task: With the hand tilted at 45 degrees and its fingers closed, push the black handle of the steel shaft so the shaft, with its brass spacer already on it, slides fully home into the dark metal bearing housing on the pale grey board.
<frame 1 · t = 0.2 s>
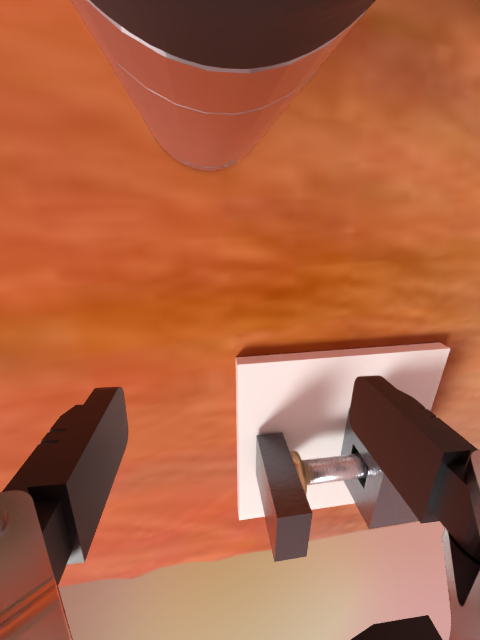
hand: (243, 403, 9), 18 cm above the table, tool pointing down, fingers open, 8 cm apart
shaft: (357, 478, 29), point 7 cm above the table, slide at 0.0 cm
bearing housing: (366, 428, 35), resting on base board
base board: (330, 432, 35), on the table
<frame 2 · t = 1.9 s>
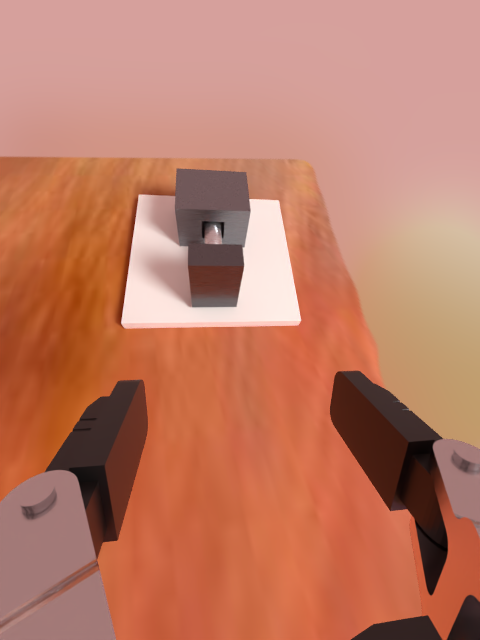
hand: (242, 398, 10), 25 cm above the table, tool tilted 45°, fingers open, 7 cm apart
shaft: (213, 227, 37), point 7 cm above the table, slide at 0.0 cm
bearing housing: (211, 234, 45), resting on base board
base board: (212, 258, 43), on the table
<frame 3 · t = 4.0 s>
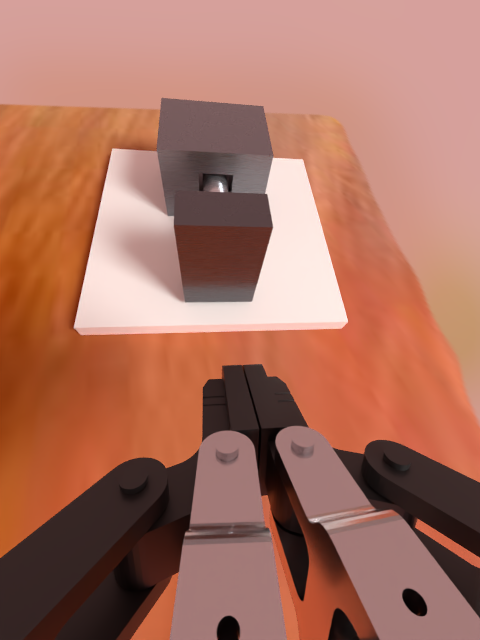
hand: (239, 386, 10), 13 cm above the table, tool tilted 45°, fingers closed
shaft: (216, 182, 25), point 7 cm above the table, slide at 0.0 cm
bearing housing: (213, 202, 33), resting on base board
base board: (214, 234, 31), on the table
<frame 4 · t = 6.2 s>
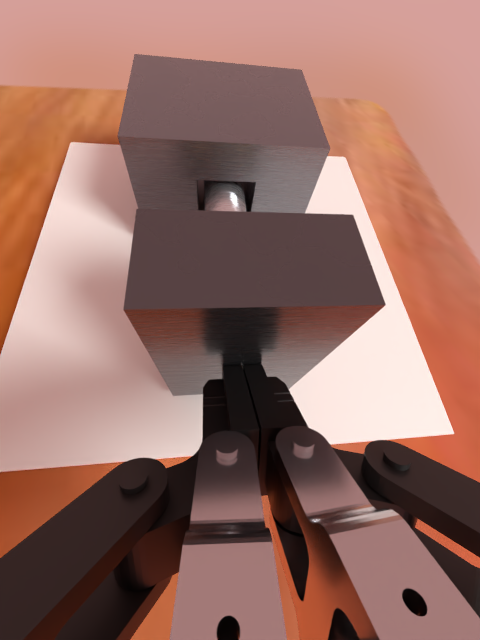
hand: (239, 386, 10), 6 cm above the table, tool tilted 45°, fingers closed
shaft: (226, 185, 15), point 6 cm above the table, slide at 0.8 cm, touching gripper
bearing housing: (219, 221, 22), resting on base board
base board: (222, 271, 20), on the table
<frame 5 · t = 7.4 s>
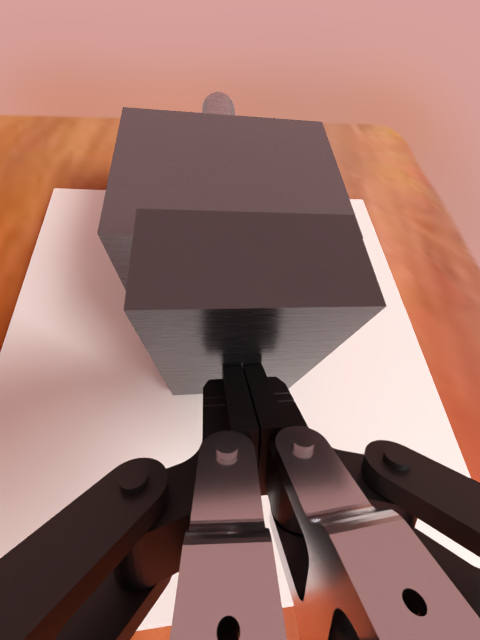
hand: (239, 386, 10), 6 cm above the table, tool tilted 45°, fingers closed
shaft: (227, 184, 15), point 6 cm above the table, slide at 6.6 cm, touching gripper
bearing housing: (222, 279, 20), resting on base board
base board: (226, 344, 17), on the table
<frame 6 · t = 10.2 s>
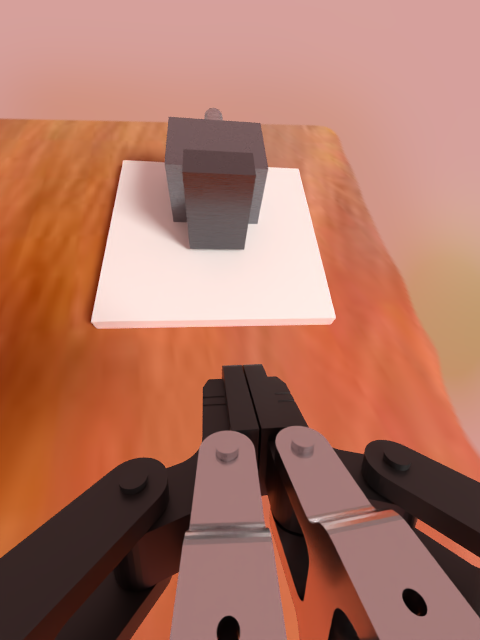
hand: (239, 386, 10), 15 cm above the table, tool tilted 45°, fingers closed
shaft: (215, 153, 31), point 7 cm above the table, slide at 6.5 cm
bearing housing: (215, 209, 36), resting on base board
base board: (216, 238, 34), on the table
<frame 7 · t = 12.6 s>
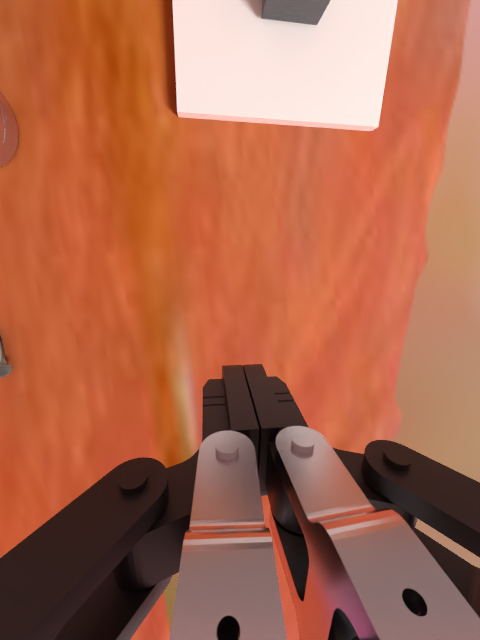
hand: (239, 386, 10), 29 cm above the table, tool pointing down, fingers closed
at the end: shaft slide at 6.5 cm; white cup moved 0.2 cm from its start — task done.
